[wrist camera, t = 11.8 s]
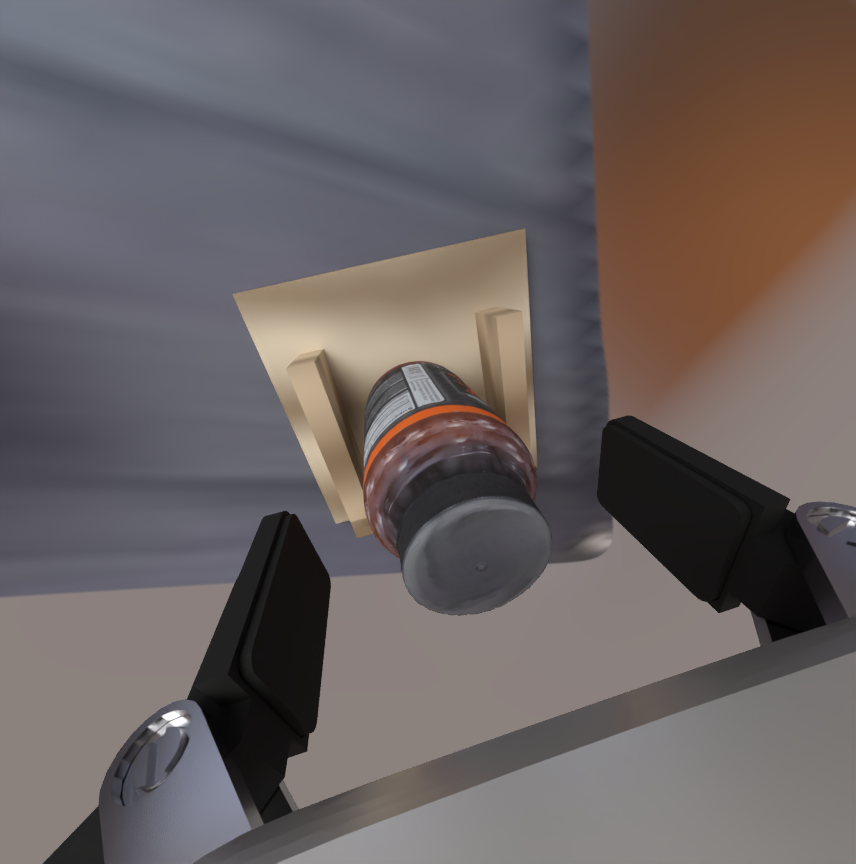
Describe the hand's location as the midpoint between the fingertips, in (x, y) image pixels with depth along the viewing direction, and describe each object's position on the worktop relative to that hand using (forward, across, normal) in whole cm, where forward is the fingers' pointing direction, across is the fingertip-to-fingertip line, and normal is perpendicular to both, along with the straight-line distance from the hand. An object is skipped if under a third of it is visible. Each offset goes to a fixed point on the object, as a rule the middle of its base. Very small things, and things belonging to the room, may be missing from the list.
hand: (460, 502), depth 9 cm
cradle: (+10, 0, 0) cm, 10 cm away
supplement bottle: (+10, 0, +1) cm, 10 cm away
